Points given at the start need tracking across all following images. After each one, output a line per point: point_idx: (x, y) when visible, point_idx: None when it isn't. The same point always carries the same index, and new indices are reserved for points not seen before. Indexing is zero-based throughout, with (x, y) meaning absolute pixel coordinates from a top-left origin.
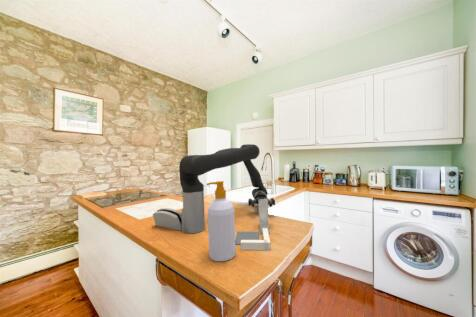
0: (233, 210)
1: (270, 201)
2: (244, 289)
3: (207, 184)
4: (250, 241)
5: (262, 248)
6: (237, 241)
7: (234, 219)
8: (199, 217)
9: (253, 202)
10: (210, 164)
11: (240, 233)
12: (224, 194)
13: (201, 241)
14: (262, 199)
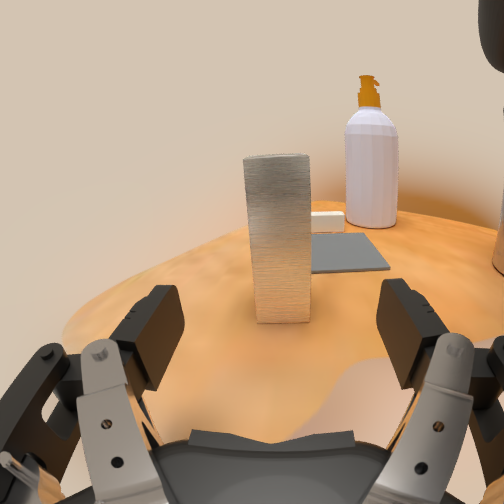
0: (345, 132)
1: (126, 326)
2: (313, 201)
3: (377, 85)
4: (320, 213)
5: None
6: (361, 237)
7: (346, 151)
8: (501, 213)
9: (405, 292)
10: (484, 17)
11: (372, 259)
12: (358, 100)
13: (445, 239)
14: (277, 156)
